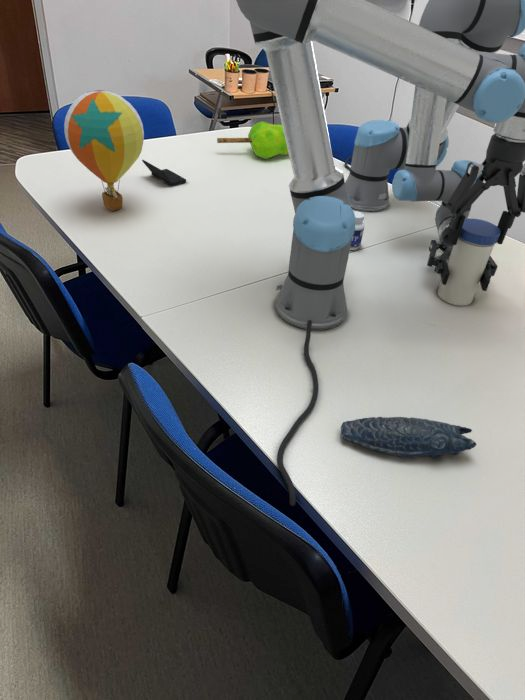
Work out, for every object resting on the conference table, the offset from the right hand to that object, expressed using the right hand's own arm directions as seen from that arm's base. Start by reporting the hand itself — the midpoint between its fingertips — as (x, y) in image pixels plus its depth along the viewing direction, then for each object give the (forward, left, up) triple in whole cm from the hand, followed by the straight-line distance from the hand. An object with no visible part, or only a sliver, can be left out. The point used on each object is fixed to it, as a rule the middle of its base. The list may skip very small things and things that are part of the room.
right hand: (466, 282), depth 114 cm
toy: (-60, -74, -6) cm, 95 cm away
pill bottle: (-31, -14, -6) cm, 35 cm away
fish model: (+35, -32, -6) cm, 48 cm away
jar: (-4, +2, -6) cm, 8 cm away
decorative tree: (-103, -21, -6) cm, 105 cm away
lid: (-4, +2, +11) cm, 12 cm away
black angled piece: (-80, -57, -6) cm, 99 cm away
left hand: (-4, +2, +8) cm, 9 cm away
